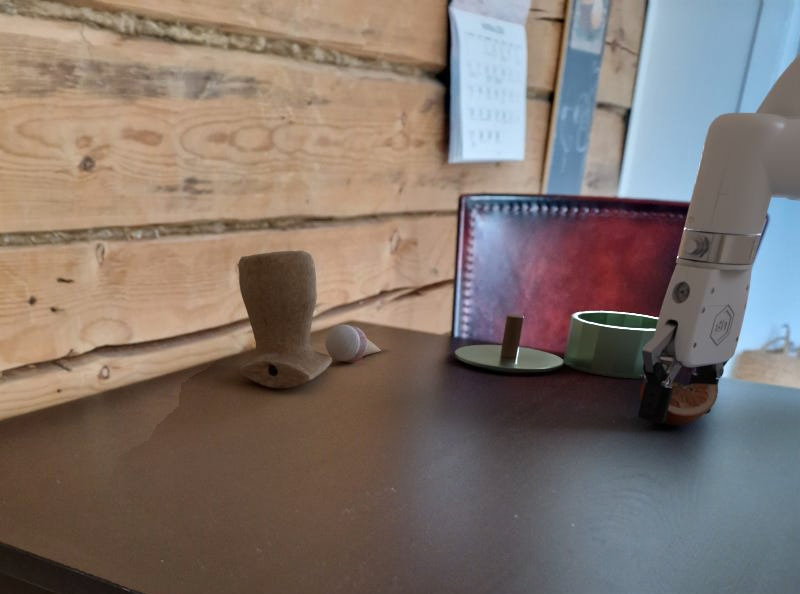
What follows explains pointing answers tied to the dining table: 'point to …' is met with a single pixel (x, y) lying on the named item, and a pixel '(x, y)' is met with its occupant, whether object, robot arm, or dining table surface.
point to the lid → (509, 353)
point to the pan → (609, 343)
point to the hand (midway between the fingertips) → (674, 415)
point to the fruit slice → (688, 402)
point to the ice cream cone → (348, 343)
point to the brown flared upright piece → (281, 317)
